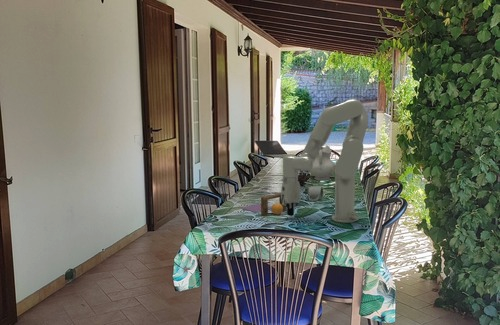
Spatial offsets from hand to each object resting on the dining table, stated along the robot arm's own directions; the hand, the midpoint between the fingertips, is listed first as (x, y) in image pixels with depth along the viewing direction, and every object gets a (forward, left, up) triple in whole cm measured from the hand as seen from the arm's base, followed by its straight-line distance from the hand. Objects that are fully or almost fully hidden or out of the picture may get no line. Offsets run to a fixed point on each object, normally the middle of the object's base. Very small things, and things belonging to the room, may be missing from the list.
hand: (290, 215), depth 228 cm
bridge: (+13, 0, -2) cm, 13 cm away
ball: (+10, 0, +1) cm, 10 cm away
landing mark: (+27, 0, -2) cm, 27 cm away
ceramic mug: (+19, -39, -2) cm, 43 cm away
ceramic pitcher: (+59, -88, -2) cm, 106 cm away
